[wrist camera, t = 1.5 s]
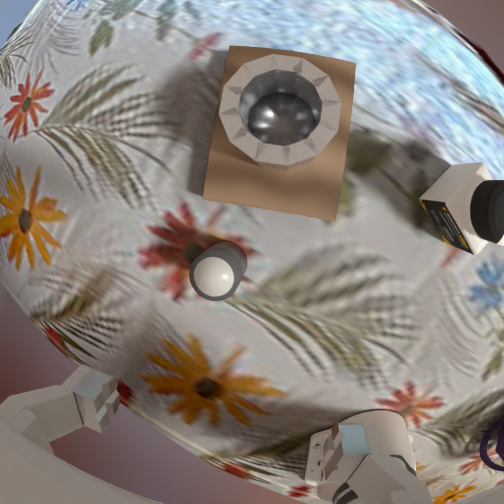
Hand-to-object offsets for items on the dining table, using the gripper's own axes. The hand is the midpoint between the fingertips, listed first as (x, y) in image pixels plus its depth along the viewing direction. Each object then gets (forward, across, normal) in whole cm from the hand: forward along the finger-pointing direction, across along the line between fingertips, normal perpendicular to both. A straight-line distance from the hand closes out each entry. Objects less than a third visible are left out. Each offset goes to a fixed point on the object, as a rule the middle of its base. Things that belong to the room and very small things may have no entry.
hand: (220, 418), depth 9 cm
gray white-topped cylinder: (+25, +4, +2) cm, 26 cm away
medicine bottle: (+25, -22, -10) cm, 35 cm away
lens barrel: (+23, 0, -14) cm, 27 cm away
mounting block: (+25, 0, -14) cm, 29 cm away
